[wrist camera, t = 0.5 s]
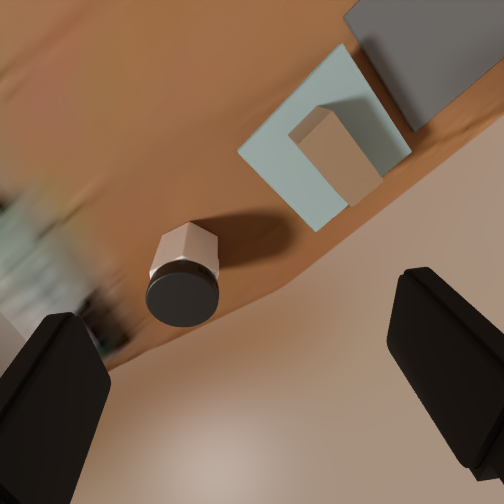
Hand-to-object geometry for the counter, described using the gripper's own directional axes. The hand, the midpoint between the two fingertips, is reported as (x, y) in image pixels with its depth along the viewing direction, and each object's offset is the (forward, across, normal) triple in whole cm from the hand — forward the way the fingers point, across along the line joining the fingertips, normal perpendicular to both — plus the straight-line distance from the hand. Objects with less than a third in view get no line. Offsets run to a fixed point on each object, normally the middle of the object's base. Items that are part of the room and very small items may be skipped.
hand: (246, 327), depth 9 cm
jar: (+33, +7, +15) cm, 37 cm away
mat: (+32, -27, -11) cm, 43 cm away
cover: (+28, -11, +1) cm, 30 cm away
